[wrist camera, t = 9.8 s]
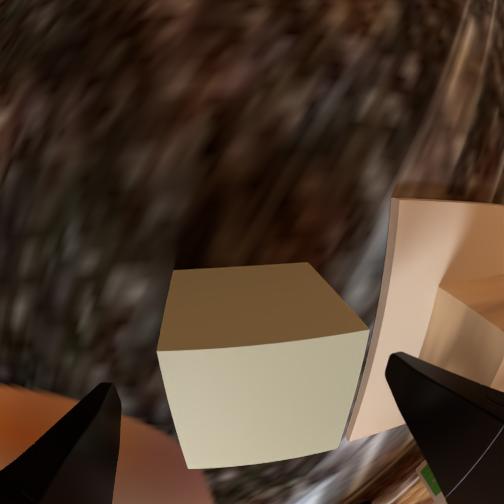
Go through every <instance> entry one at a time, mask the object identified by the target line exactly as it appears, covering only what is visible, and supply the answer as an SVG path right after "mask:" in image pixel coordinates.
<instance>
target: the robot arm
mask: <svg viewBox="0 0 504 504" xmlns="http://www.w3.org/2000/svg"><path fill="white" fill-rule="evenodd" d="M385 378H386V381H387V383H388V385H389V388H390V390H391V393H392V395H393V397H394V400H395V402H396V405H397V407H398V409H399V411H400V413H401V415H402V417H403V419H404V421H405V423H406V424H407V426H408V428H409V430H410V432H411V434H412V435H413V437H414V439H415V441H416V443H417V445H418V447H419V449H420V450H421V452H422V454H423V456H424V458H425V460H426V462H427V464H428V466H429V468H430V470H431V472H432V474H433V476H434V478H435V480H436V482H437V484H438V486H439V488H440V490H441V492H442V494H443V496H444V498H445V500H446V502H447V504H504V392H502V391H499V390H496V389H493V388H491V387H488V386H485V385H483V384H482V385H481V384H480V383H478V382H475V381H473V380H470V379H468V378H465V377H463V376H460V375H458V374H455V373H453V372H450V371H448V370H445V369H443V368H440V367H438V366H435V365H433V364H431V363H428V362H426V361H423V360H421V359H419V358H416V357H414V356H411V355H409V354H407V353H404V352H402V351H399V352H395V353H392V354H391V355H390V356H389V359H388V362H387V366H386V369H385ZM120 423H121V401H120V398H119V396H118V393H117V390H116V387H115V385H114V384H113V383H106V382H102V383H100V384H99V385H98V386H96V387H95V388H94V389H93V390H92V391H91V392H90V393H89V394H88V395H87V396H85V397H84V398H83V399H82V400H81V401H80V402H79V403H78V404H77V405H76V406H74V407H73V408H72V409H71V410H70V411H69V412H68V413H67V414H66V415H65V416H64V417H62V418H61V419H60V420H59V421H58V422H57V423H56V424H55V425H54V426H52V427H51V428H50V429H49V430H48V431H47V432H46V433H45V434H44V435H43V436H42V437H40V438H39V439H38V440H37V441H36V442H35V445H34V444H33V445H32V446H31V447H29V448H28V449H27V450H26V451H25V452H24V453H23V454H21V455H20V456H19V457H18V458H17V459H16V460H14V461H13V462H12V463H10V464H9V465H8V466H6V467H5V468H4V469H2V470H1V471H0V504H112V499H113V490H114V483H115V475H116V467H117V461H118V455H119V446H120V425H121V424H120ZM364 504H372V503H371V502H367V503H364Z"/></svg>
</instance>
